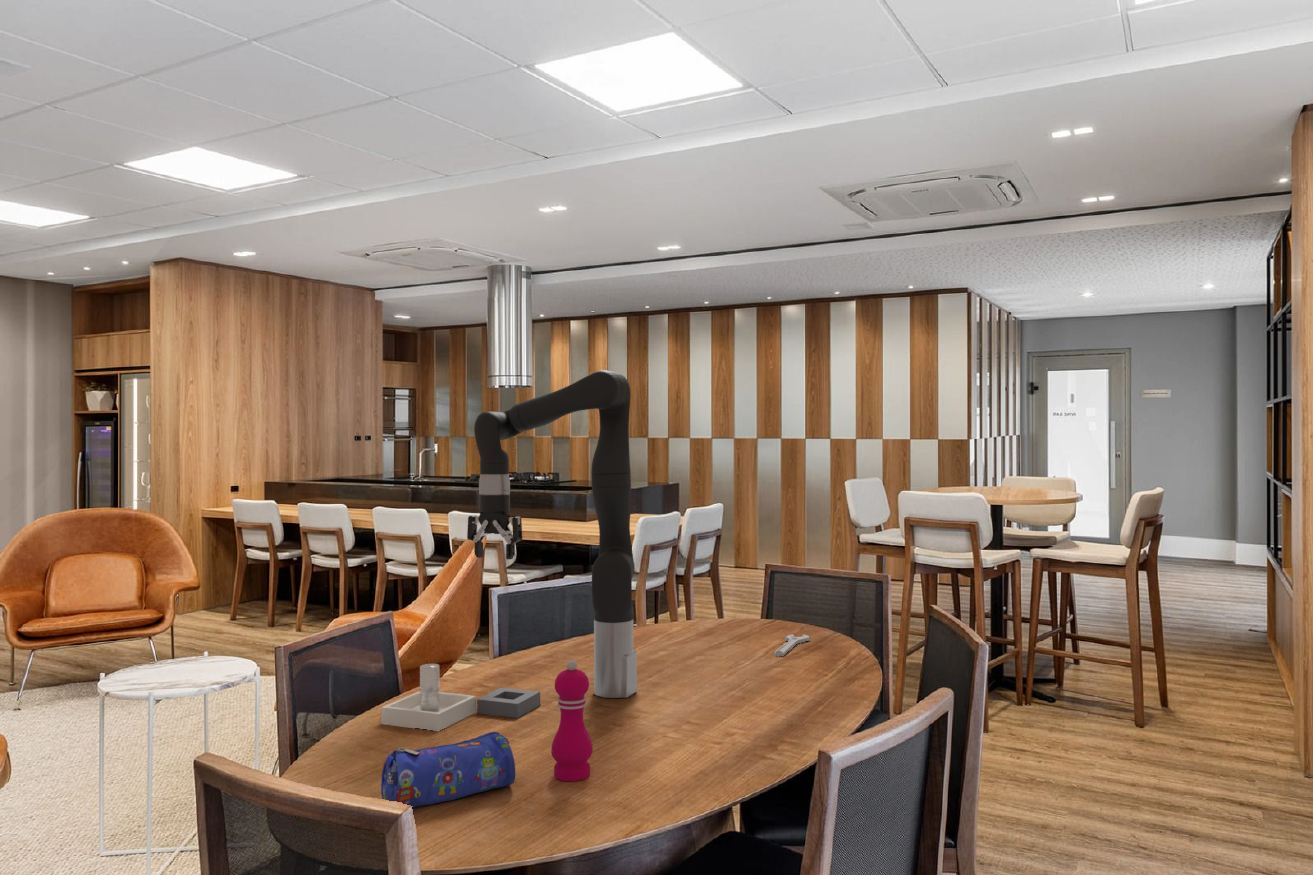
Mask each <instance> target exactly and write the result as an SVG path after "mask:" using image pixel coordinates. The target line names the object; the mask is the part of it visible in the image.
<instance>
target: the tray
mask: <svg viewBox="0 0 1313 875" xmlns="http://www.w3.org/2000/svg"><path fill="white" fill-rule="evenodd" d="M476 713H477V695H472V694H462V693H454V692H453V693H452V692H451V693H450V692H443V691H439V712H430V711H422V710H420V690H419V691H416V692H414V693H411V694H409V695H407V696H405V697H402V698H400V699H397V700H396V701H395V700H394V701H393V702H390V703H388V704H386V705H384V706H381V725H386V726H393V727H400V728H401V727H402V728H409V729H415V728H420V729H419V730H422V729H427V730H426V731H430V730H433V731H432V732H438V733H439V732H440V730H441V731H442V729H443V730H444V728H445V729H447V728H449V727H450V726H452V725H454V724H457V723H458V722H460V721H462V720H464V719H466V718H469V717H470V716H472V715H474V714H476Z"/></svg>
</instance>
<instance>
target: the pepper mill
mask: <svg viewBox="0 0 1313 875" xmlns="http://www.w3.org/2000/svg"><path fill="white" fill-rule="evenodd" d="M577 667H578V664H577V662H576V661H575V660H569V661H568V662H567V663H566V668H567V669H564V670H562V671H560V673H558V674H557V676H556V678H555V679H554V690H555V693H557V695H558V696H559V697H558V698H557V707H559V710H560V720H559V725H558V729H557V731H556V733H555V735H554V737H553V740H552V743H551V751H550V752H551V757H552V758H553V760H554V761H555V764H554V765H553V776H554V778H555V779H557V780H559V781H563V782H579V781H583V780H586V779H587V778H589V777H590V774H591V765H590V762H589V759H590V758H591V757H592V755H593V752H594V750H593V743H592V738H591V737H590V734H589V732H588V730H587V728H586V725H585V719H584V709H585V706H586V705H587V702H586V701H587V697H586V696H585V695H586V694H587V692H588V691H589V688H590V681H589V678H588V676H587V674H586V672H584V671H582V670H581V669H578V668H577Z"/></svg>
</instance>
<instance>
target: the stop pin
mask: <svg viewBox="0 0 1313 875" xmlns="http://www.w3.org/2000/svg"><path fill="white" fill-rule="evenodd" d="M419 691H420V710H422V711H430V712H439V692H440V664H438V663H425V664H422V665H420V666H419Z"/></svg>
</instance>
